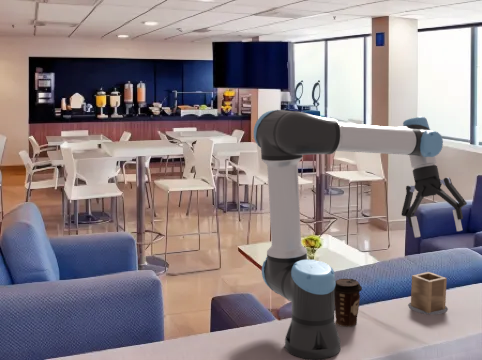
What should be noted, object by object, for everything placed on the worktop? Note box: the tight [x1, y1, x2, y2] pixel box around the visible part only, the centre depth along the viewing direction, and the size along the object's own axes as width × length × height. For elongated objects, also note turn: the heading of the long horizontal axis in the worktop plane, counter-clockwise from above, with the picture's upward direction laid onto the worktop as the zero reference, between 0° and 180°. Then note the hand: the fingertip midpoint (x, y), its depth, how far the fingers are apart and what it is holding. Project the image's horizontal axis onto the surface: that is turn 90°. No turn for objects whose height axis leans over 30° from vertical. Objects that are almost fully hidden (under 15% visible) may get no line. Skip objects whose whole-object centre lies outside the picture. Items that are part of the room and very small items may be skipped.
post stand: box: [407, 302, 449, 315], centre depth 189 cm, size 12×12×9 cm
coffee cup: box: [334, 278, 363, 327], centre depth 181 cm, size 9×8×13 cm
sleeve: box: [410, 271, 448, 313], centre depth 189 cm, size 7×7×10 cm
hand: (438, 234), depth 184 cm, fingers open, 13 cm apart
